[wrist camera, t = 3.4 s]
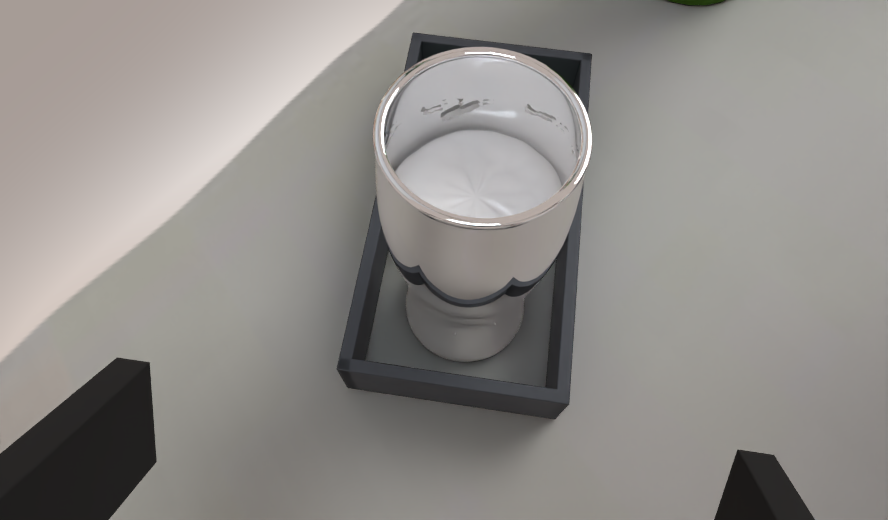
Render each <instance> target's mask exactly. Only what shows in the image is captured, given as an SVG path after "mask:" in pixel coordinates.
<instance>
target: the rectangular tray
mask: <svg viewBox="0 0 888 520" xmlns="http://www.w3.org/2000/svg"><path fill="white" fill-rule="evenodd" d="M466 47H493V48H500V49H506V50H510V51H514V52H518V53H521V54H524V55H526V56H529V57H531V58H534V59H536V60H538V61H540V62H542V63H543V64H545V65H547V66H548V67H550V68H551V69H553V70H554V71H555V72H557V73H558V74H559V75H560V76H562V77H563V78H564V79H565V80H566V81H567V82H568V83H569V84H570V85H571V87H572V88H573V89H574V90H575V92H576V93H577V94H578V96H579V97H580V99H581V101H582V102H583V104H584V106H585V109H586V111H587V113H588V106H589V91H590V76H591V60H592V54H590V53H581V52H573V51H564V50H556V49H547V48H539V47H530V46H522V45H513V44H505V43H496V42H488V41H479V40H471V39H462V38H454V37H445V36H437V35H428V34H421V33H413V35H412V39H411V43H410V48H409V52H408V57H407V61H406V65H405V70H404V72H405V71H407V70H408V69H409V68H411V67H412V66H414V65H415V64H417V63H419V62H420V61H422V60H424V59H426V58H428V57H431V56H433V55H436V54H439V53H442V52H445V51H449V50H453V49H459V48H466ZM583 184H584V180H583ZM582 199H583V185H582V189H581V194H580V197H579V201H578V205H577V209H576V212H575V215H574V218H573V221H572V224H571V227H570V230H569V233H568V235H567V238H566V240H565V242H564V244H563V246H562V248H561V250H560V252H559V254H558V256H557V258H556V268H555V280H554V292H553V305H552V317H551V329H550V341H549V354H548V366H547V378H546V388H545V387H538V386H532V385H525V384H518V383H512V382H505V381H498V380H491V379H485V378H478V377H471V376H465V375H458V374H451V373H445V372H438V371H431V370H424V369H418V368H411V367H404V366H398V365H391V364H384V363H378V362H371V361H365V359H366V354H367V349H368V344H369V340H370V335H371V330H372V325H373V320H374V316H375V311H376V306H377V301H378V296H379V292H380V287H381V282H382V277H383V272H384V268H385V263H386V258H387V253H388V247H387V244H386V241H385V238H384V234H383V230H382V226H381V222H380V218H379V211H378V203H377V195H376V198H375V202H374V207H373V211H372V215H371V220H370V224H369V229H368V233H367V237H366V242H365V246H364V251H363V255H362V259H361V264H360V268H359V273H358V277H357V281H356V286H355V290H354V295H353V299H352V304H351V308H350V312H349V317H348V321H347V326H346V330H345V334H344V339H343V343H342V348H341V352H340V356H339V361H338V365H337V371H338V372H339V374H340V376H341V377H342V379H343V381H344V382H345V384H346V386H347V387H348V388H353V389H360V390H366V391H373V392H379V393H386V394H393V395H399V396H406V397H412V398H419V399H425V400H432V401H439V402H445V403H452V404H458V405H465V406H471V407H478V408H485V409H491V410H498V411H504V412H511V413H517V414H524V415H531V416H537V417H544V418H550V419H556V418H557V417H558V416H559V415H560V413H561V412H562V411H563V410H564V409H565V408H566V407H567V406H568V405H569V400H570V384H571V369H572V353H573V338H574V322H575V307H576V292H577V276H578V261H579V245H580V230H581V214H582Z"/></svg>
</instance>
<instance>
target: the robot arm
mask: <svg viewBox="0 0 888 520" xmlns="http://www.w3.org/2000/svg"><path fill="white" fill-rule="evenodd" d="M155 463H156V448H155V434H154V419H153V405H152V391H151V376H150V362H143V361H136V360H129V359H123V358H116V359H115V360H114V361H112V362H111V363H110V364H109V365H108V366H106V367H105V368H104V369H103V370H101V371H100V372H99V373H98V374H97V375H95V376H94V377H93V378H92V379H91V380H89V381H88V382H87V383H86V384H84V385H83V386H82V387H81V388H80V389H78V390H77V391H76V392H75V393H74V394H72V395H71V396H70V397H69V398H67V399H66V400H65V401H64V402H63V403H61V404H60V405H59V406H58V407H57V408H55V409H54V410H53V411H52V412H50V413H49V414H48V415H47V416H46V417H44V418H43V419H42V420H41V421H40V422H38V423H37V424H36V425H35V426H33V427H32V428H31V429H30V430H29V431H27V432H26V433H25V434H24V435H23V436H21V437H20V438H19V439H18V440H16V441H15V442H14V443H13V444H12V445H10V446H9V447H8V448H7V449H6V450H4V451H3V452H2V453H1V454H0V520H109V519H110V517H111V516H112V515H113V514H114V513H115V511H116V510H117V509H118V508H119V507H120V505H121V504H122V503H123V502H124V500H125V499H126V498H127V497H128V496H129V494H130V493H131V492H132V491H133V490H134V488H135V487H136V486H137V485H138V483H139V482H140V481H141V480H142V479H143V477H144V476H145V475H146V474H147V473H148V471H149V470H150V469H151V468H152V467H153V465H154V464H155ZM714 520H815V519H814V518H813V516H812V514H811V513H810V511H809V510H808V508H807V507H806V505H805V503H804V502H803V500H802V499H801V497H800V495H799V494H798V492H797V491H796V489H795V488H794V486H793V484H792V483H791V481H790V480H789V478H788V477H787V475H786V473H785V472H784V470H783V469H782V467H781V465H780V464H779V462H778V461H777V459H776V458H775V456H774V455H770V454H764V453H757V452H750V451H743V450H737V453H736V456H735V459H734V462H733V465H732V468H731V471H730V474H729V477H728V480H727V483H726V486H725V489H724V492H723V495H722V498H721V501H720V504H719V507H718V510H717V513H716V516H715V519H714Z"/></svg>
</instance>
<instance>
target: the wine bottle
mask: <svg viewBox="0 0 888 520" xmlns="http://www.w3.org/2000/svg"><path fill="white" fill-rule="evenodd" d="M668 1H671V2H675V3H680V4H685V5H710V4H715V3H719V2H723V1H725V0H668Z"/></svg>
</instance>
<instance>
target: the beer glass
mask: <svg viewBox="0 0 888 520" xmlns="http://www.w3.org/2000/svg"><path fill="white" fill-rule="evenodd" d="M373 146H374V151H375V179H376V195H377V203H378V211H379V218H380V222H381V226H382V230H383V234H384V238H385V241H386V244H387V247H388V250H389V252H390V254H391V256H392V258H393V260H394V262H395V264H396V266H397V268H398V270H399V272H400V274H401V275H402V277H403V278H404V280H405V281H406V283H407V285H408V286H409V287H408V290H407V295H406V315H407V319H408V322H409V325H410V327H411V329H412V331H413V333H414V335H415V336H416V338H417V339H418V340H419V341H420V342H421V343H422V344H423V345H424V346H425V347H426V348H427V349H428V350H430V351H431V352H433V353H434V354H436V355H438V356H440V357H443V358H445V359H448V360H452V361H458V362H472V361H478V360H482V359H486V358H488V357H491V356H493V355H495V354H496V353H498V352H500V351H501V350H502V349H504V348H505V347H506V346H507V345H508V344H509V343H510V342H511V340H512V339H513V338H514V336H515V335H516V333H517V332H518V330H519V328H520V325H521V322H522V319H523V314H524V298H525V296H526V295H527V294H528V293H529V292H530V291H531V290H532V289H533V288H534V287H535V286H536V285H537V284H538V283H539V282H540V281H541V279H542V278H543V277H544V275H545V274H546V273H547V271H548V270H549V269H550V267H551V266H552V265H553V263H554V262H555V260H556V258H557V256H558V254H559V252H560V250H561V248H562V246H563V244H564V242H565V240H566V238H567V235H568V233H569V230H570V227H571V224H572V221H573V218H574V215H575V212H576V209H577V205H578V201H579V197H580V194H581V189H582V185H583V180H584V176H585V173H586V170H587V168H588V165H589V162H590V158H591V153H592V129H591V123H590V119H589V116H588V113H587V111H586V109H585V106H584V104H583V102H582V101H581V99H580V97H579V96H578V94H577V93H576V92H575V90H574V89H573V88H572V87H571V85H570V84H569V83H568V82H567V81H566V80H565V79H564V78H563V77H562V76H560V75H559V74H558V73H557V72H555V71H554V70H553V69H551V68H550V67H548V66H547V65H545V64H543V63H542V62H540V61H538V60H536V59H534V58H531V57H529V56H526V55H524V54H521V53H518V52H514V51H510V50H506V49H500V48H493V47H466V48H459V49H453V50H449V51H445V52H442V53H439V54H436V55H433V56H431V57H428V58H426V59H424V60H422V61H420V62H419V63H417V64H415V65H414V66H412V67H411V68H409V69H408V70H407V71H405V72H404V73H403V74H402V75H401V76H400V77H398V78H397V79H396V81H395V82H394V83H393V84H392V85H391V86H390V87H389V89H388V90H387V92H386V93H385V95H384V96H383V98H382V100H381V102H380V104H379V107H378V109H377V112H376V116H375V120H374V125H373Z"/></svg>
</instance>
